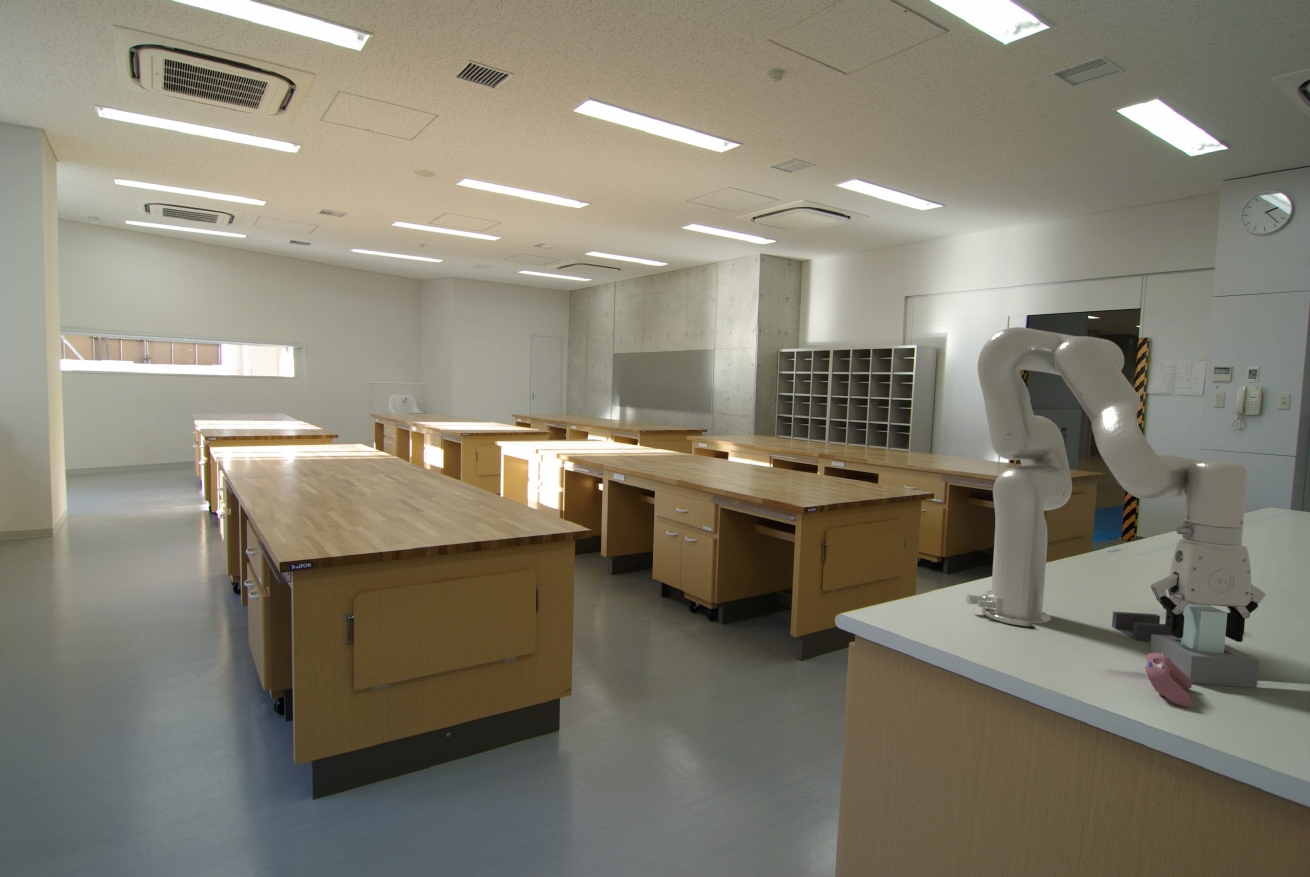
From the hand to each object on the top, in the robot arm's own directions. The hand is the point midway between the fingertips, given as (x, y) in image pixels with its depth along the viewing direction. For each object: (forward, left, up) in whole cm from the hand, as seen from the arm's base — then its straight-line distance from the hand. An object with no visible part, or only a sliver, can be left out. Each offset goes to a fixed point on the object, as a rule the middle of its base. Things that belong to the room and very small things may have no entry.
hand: (1203, 636), depth 111 cm
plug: (0, 0, -5) cm, 5 cm away
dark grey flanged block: (+1, +16, -6) cm, 17 cm away
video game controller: (-12, -10, -6) cm, 17 cm away
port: (0, 0, -6) cm, 6 cm away
